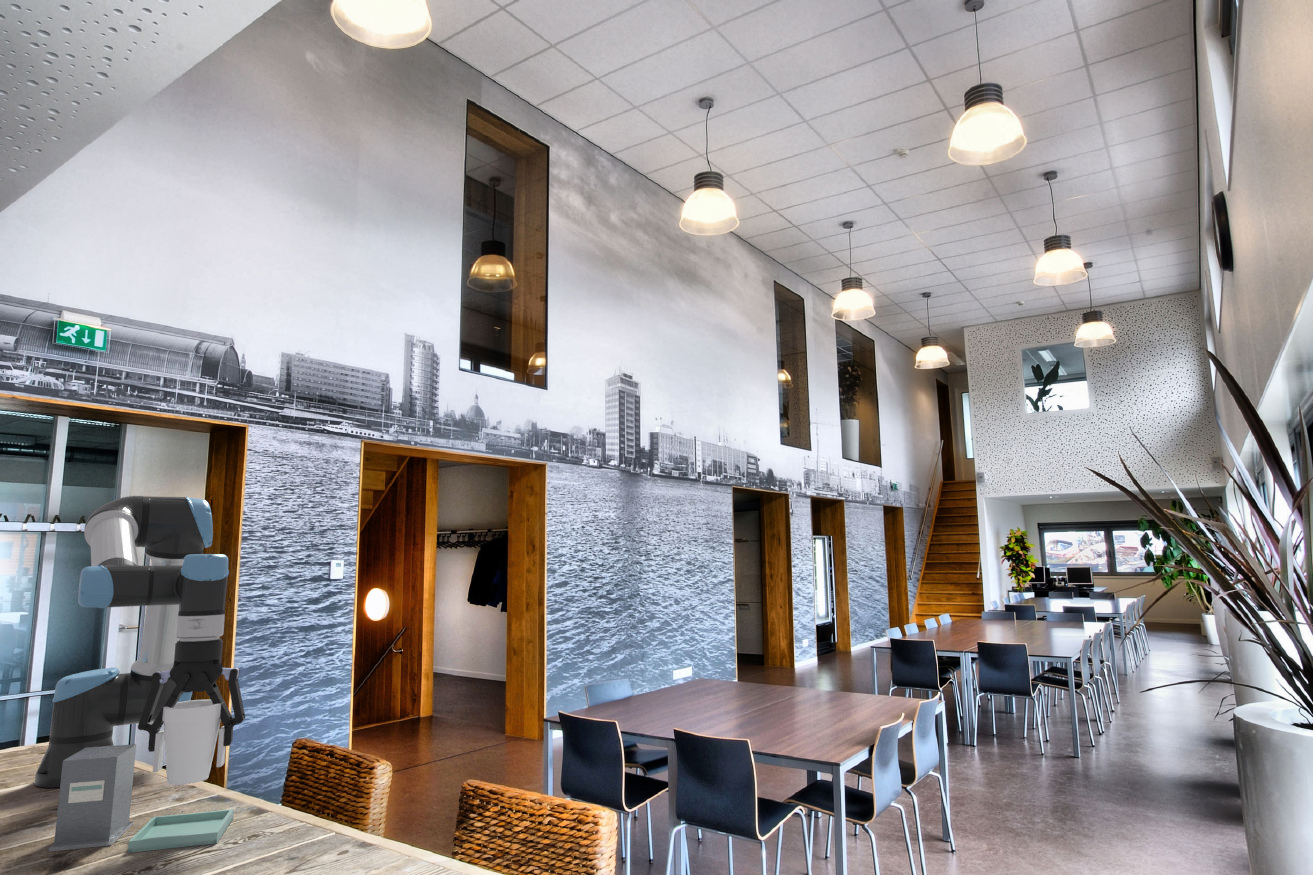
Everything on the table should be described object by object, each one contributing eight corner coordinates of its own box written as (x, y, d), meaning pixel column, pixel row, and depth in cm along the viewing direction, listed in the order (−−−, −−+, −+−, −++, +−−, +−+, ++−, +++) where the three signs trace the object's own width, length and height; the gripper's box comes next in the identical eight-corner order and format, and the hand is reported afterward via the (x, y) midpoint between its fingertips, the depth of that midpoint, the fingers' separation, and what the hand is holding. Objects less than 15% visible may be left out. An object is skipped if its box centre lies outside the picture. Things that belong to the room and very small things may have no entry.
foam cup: (144, 784, 135) (151, 707, 137) (192, 770, 143) (197, 698, 145) (183, 789, 131) (190, 709, 134) (230, 775, 140) (235, 700, 142)
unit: (75, 830, 139) (83, 747, 141) (132, 824, 142) (140, 743, 144) (48, 851, 129) (58, 761, 131) (111, 845, 131) (119, 756, 134)
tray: (152, 827, 140) (153, 816, 140) (233, 819, 144) (233, 808, 144) (127, 852, 128) (128, 841, 128) (216, 843, 132) (217, 831, 132)
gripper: (123, 643, 135) (110, 778, 131) (262, 638, 141) (253, 767, 138) (137, 639, 142) (125, 768, 138) (269, 634, 148) (260, 757, 145)
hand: (189, 767), depth 138 cm, fingers closed on foam cup, 9 cm apart
